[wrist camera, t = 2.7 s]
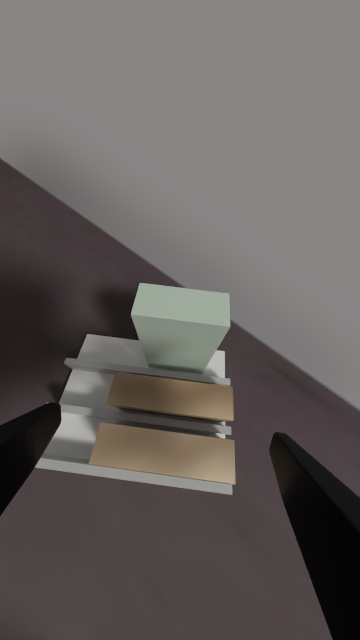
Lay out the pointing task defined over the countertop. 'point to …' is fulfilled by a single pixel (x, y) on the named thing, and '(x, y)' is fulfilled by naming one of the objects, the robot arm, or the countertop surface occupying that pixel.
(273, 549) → the countertop surface
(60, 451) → the rack
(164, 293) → the sage green block
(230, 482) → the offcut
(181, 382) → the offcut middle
